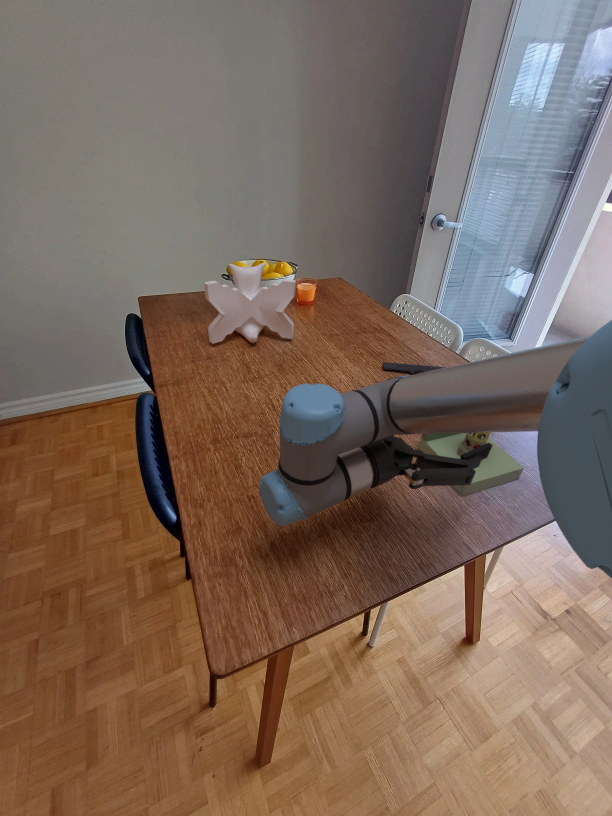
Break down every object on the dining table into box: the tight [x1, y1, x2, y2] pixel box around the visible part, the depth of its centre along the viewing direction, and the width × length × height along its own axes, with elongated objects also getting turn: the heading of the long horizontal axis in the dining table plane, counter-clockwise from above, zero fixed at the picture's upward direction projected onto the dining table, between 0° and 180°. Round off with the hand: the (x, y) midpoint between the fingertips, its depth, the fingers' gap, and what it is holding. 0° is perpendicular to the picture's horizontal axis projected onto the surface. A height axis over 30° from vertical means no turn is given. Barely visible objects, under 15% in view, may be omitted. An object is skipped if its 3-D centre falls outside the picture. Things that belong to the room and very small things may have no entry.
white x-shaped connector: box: [203, 262, 297, 345], centre depth 118 cm, size 25×21×21 cm
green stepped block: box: [417, 433, 525, 497], centre depth 79 cm, size 14×14×6 cm
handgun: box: [381, 361, 446, 375], centre depth 106 cm, size 18×2×12 cm
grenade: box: [457, 432, 491, 457], centre depth 75 cm, size 7×7×15 cm
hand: (456, 426), depth 70 cm, fingers open, 13 cm apart
